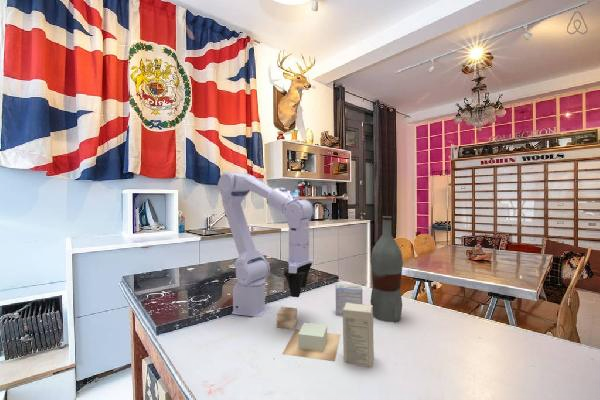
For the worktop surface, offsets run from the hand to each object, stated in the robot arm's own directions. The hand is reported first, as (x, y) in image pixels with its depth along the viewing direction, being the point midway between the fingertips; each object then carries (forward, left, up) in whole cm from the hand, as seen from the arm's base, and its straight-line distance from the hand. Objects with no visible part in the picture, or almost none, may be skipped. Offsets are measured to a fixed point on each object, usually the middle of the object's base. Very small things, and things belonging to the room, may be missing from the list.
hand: (298, 291), depth 81 cm
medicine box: (+13, +10, -10) cm, 19 cm away
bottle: (+24, +11, -10) cm, 28 cm away
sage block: (+6, -10, -9) cm, 14 cm away
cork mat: (+6, -10, -9) cm, 15 cm away
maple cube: (-3, -2, -10) cm, 10 cm away
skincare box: (+17, -14, -10) cm, 24 cm away
